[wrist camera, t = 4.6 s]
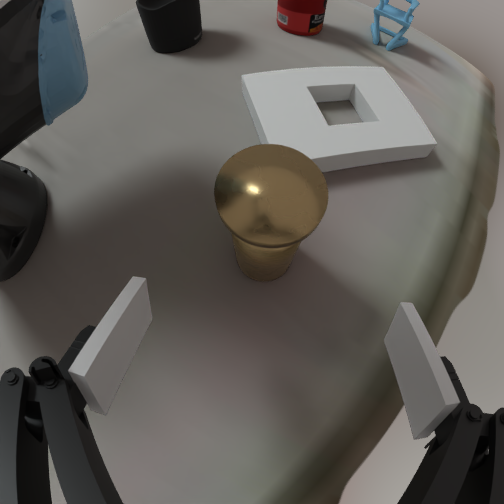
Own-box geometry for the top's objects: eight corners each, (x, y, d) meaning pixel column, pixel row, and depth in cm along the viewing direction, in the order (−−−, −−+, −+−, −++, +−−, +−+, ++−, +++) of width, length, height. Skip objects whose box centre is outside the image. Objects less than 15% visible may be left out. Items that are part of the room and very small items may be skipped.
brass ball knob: (239, 294, 25) (228, 256, 14) (224, 232, 27) (205, 156, 16) (305, 277, 26) (344, 227, 14) (286, 217, 28) (306, 136, 16)
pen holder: (162, 62, 36) (148, 10, 26) (141, 44, 38) (128, 0, 28) (215, 39, 37) (209, -11, 28) (188, 23, 39) (181, -20, 30)
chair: (361, 38, 38) (375, -14, 27) (371, 25, 40) (384, -21, 29) (400, 57, 37) (421, 6, 25) (407, 42, 39) (424, -3, 27)
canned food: (317, 40, 37) (326, -14, 27) (270, 30, 38) (272, -23, 27) (325, 24, 39) (333, -24, 29) (282, 15, 40) (285, -33, 30)
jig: (274, 181, 29) (276, 165, 26) (242, 92, 33) (241, 75, 30) (426, 157, 30) (437, 143, 27) (377, 81, 34) (383, 67, 31)
